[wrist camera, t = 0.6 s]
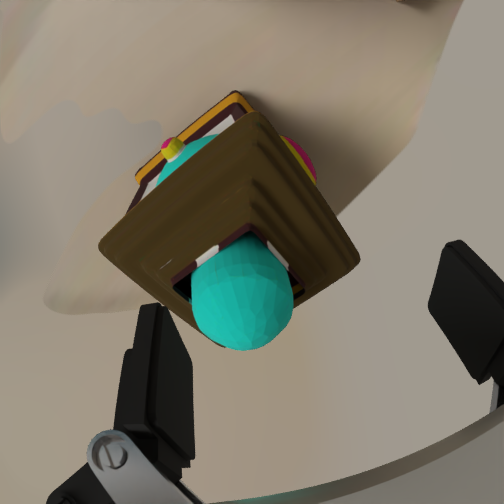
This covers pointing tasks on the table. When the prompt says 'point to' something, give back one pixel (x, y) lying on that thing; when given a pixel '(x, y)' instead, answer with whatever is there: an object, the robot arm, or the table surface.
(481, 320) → the robot arm
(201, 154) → the decorative lantern
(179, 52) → the table surface
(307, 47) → the table surface
